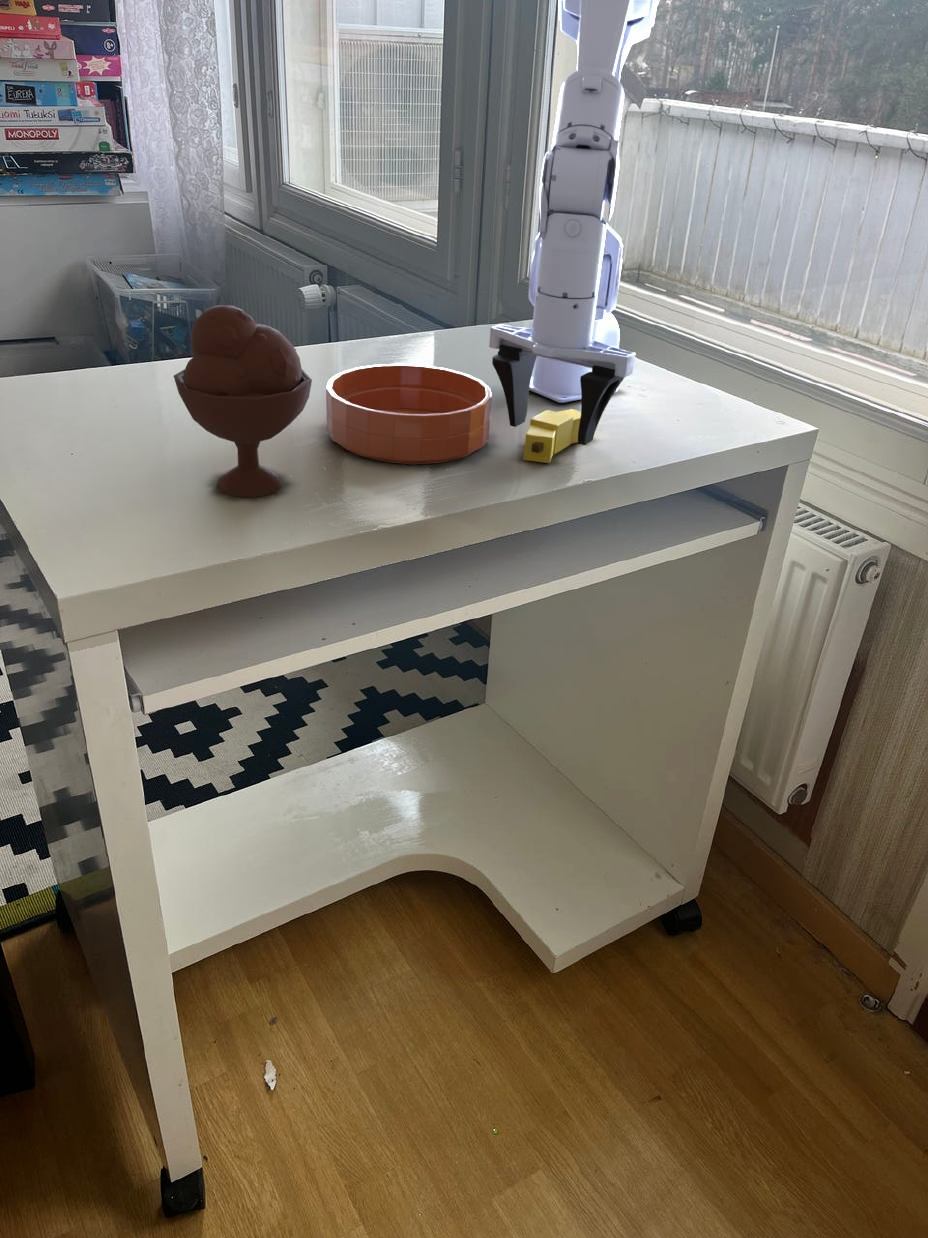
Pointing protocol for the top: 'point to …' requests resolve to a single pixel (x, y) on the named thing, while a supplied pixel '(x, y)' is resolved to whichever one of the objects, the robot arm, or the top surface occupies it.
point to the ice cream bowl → (242, 390)
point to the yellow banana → (551, 434)
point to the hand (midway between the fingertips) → (550, 432)
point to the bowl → (408, 413)
